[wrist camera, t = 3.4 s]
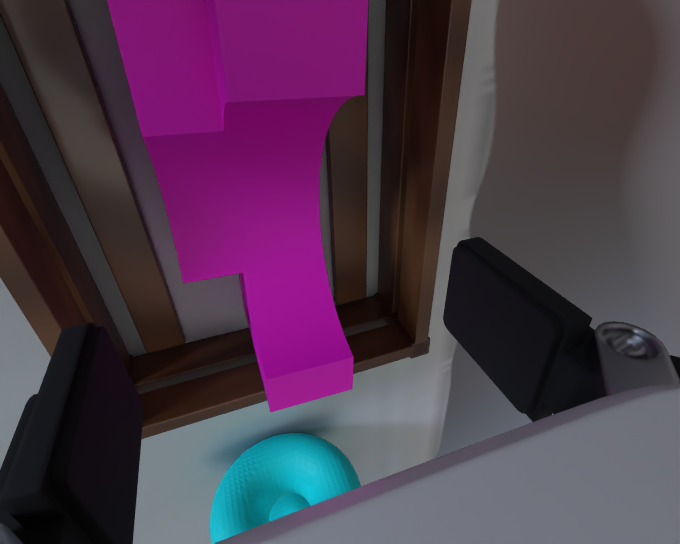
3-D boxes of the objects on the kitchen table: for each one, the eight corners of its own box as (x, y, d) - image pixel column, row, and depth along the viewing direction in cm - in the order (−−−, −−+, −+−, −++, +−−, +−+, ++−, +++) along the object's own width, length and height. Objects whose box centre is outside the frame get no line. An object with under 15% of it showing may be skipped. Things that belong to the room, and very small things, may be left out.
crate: (-139, -118, 11) (-315, -192, 7) (412, -97, 15) (495, -135, 11) (117, 375, 22) (106, 454, 18) (390, 303, 27) (429, 353, 23)
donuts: (228, 518, 33) (246, 672, 26) (200, 451, 28) (212, 623, 20) (338, 476, 36) (384, 604, 28) (333, 407, 30) (390, 544, 23)
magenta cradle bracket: (118, -16, 14) (79, -37, 8) (293, -10, 15) (369, -24, 10) (199, 317, 22) (209, 429, 16) (306, 295, 24) (352, 388, 18)
